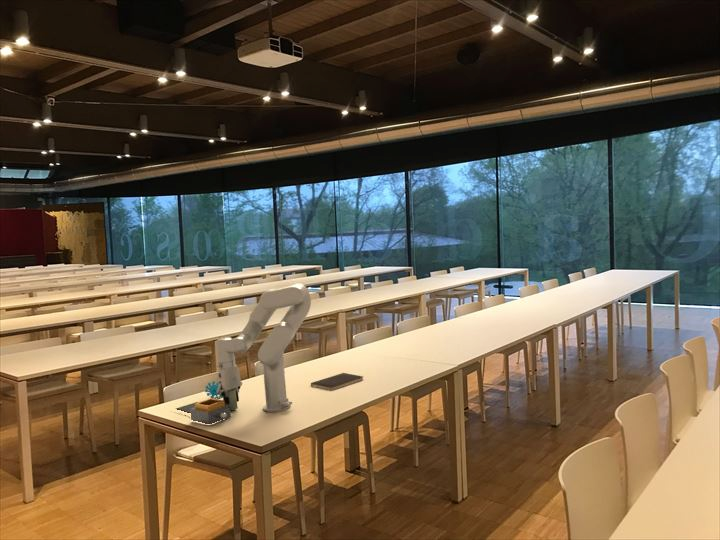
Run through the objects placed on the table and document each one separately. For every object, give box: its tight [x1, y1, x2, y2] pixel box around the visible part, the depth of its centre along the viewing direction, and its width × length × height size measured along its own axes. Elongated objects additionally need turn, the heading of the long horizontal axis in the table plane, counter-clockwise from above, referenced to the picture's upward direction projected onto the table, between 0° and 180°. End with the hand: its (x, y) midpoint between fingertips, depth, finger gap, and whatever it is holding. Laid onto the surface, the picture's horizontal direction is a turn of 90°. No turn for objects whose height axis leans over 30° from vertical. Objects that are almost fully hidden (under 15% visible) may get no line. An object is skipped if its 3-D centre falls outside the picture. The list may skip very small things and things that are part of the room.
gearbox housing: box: [190, 397, 232, 424], centre depth 253 cm, size 16×12×8 cm
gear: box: [204, 380, 223, 399], centre depth 292 cm, size 11×6×10 cm
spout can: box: [227, 388, 239, 411], centre depth 266 cm, size 5×5×11 cm
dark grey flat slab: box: [175, 401, 199, 413], centre depth 271 cm, size 20×2×15 cm
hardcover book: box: [310, 372, 364, 391], centre depth 301 cm, size 16×23×2 cm
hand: (231, 402), depth 266 cm, fingers closed on spout can, 5 cm apart
